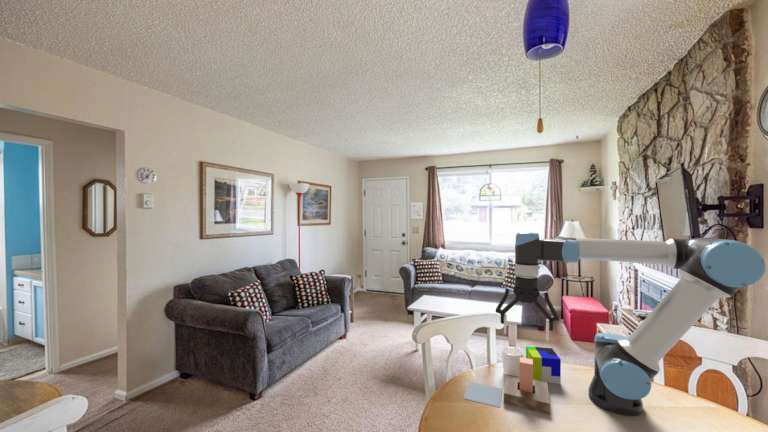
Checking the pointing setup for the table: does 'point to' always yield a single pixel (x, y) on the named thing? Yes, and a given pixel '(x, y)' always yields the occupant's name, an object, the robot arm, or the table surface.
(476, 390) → the mat
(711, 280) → the robot arm
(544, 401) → the pocket block
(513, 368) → the white cup
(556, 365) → the puzzle toy
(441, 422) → the table surface
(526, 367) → the peg
